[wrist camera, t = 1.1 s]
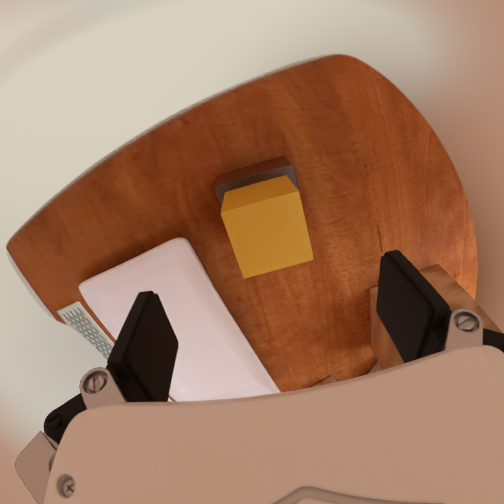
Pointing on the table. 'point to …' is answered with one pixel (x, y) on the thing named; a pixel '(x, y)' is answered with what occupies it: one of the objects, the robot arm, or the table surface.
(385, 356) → the block
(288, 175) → the base block
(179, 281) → the tray
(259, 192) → the top block
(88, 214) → the table surface
